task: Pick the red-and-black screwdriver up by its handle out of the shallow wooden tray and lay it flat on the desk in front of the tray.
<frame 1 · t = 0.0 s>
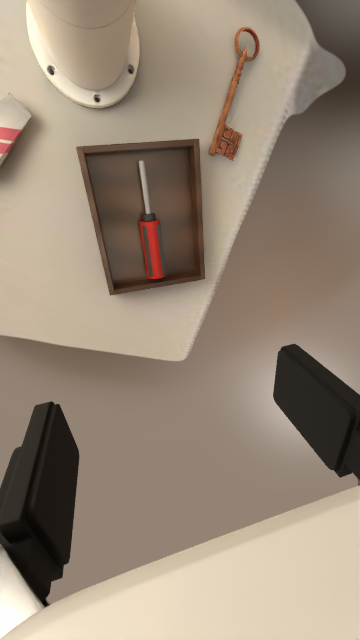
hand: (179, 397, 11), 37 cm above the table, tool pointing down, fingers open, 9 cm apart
screwdriver: (151, 247, 44), resting on wooden tray
wooden tray: (147, 221, 42), on the table
key: (233, 101, 38), on the table
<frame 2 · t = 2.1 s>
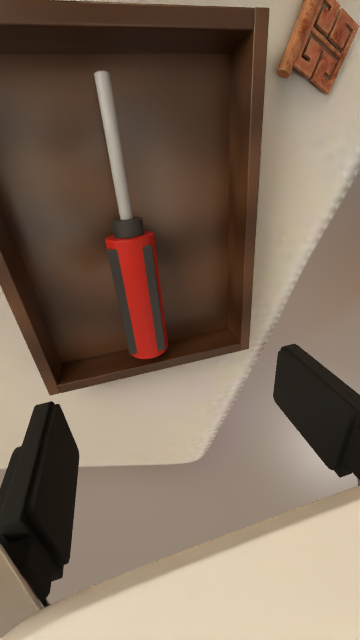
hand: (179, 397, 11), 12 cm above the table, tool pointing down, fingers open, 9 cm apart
screwdriver: (140, 289, 21), resting on wooden tray, tilted 9°
wooden tray: (131, 234, 19), on the table
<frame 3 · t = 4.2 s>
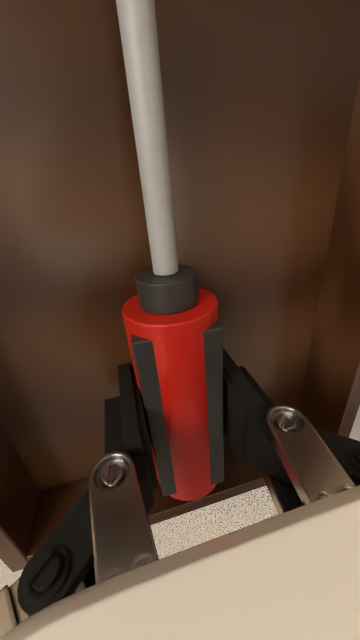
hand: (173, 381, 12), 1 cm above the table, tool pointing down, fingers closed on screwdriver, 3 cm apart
screwdriver: (174, 375, 12), resting on wooden tray, touching gripper
wooden tray: (159, 289, 10), on the table
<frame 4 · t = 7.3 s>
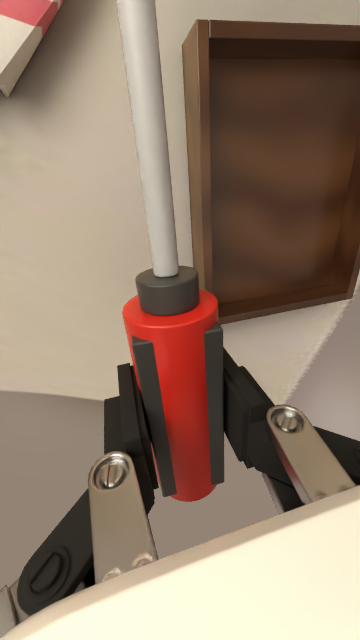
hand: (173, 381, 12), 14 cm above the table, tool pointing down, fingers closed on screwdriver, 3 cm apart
screwdriver: (174, 376, 12), point 14 cm above the table, touching gripper
wooden tray: (275, 199, 24), on the table
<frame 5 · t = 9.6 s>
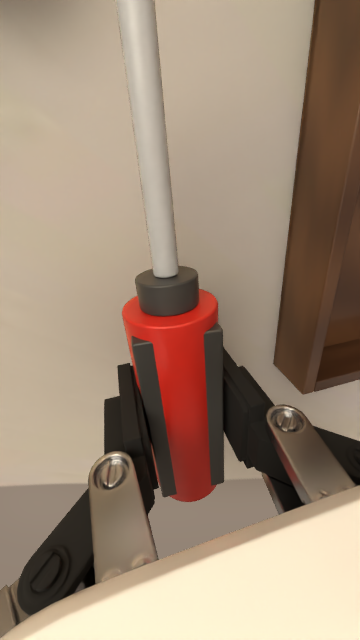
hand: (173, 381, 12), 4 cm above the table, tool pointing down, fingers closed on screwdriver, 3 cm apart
screwdriver: (174, 376, 12), point 3 cm above the table, touching gripper
when the fingers open (0 cm above the table, at t = 10.8 s): screwdriver stays where it is, on the table.
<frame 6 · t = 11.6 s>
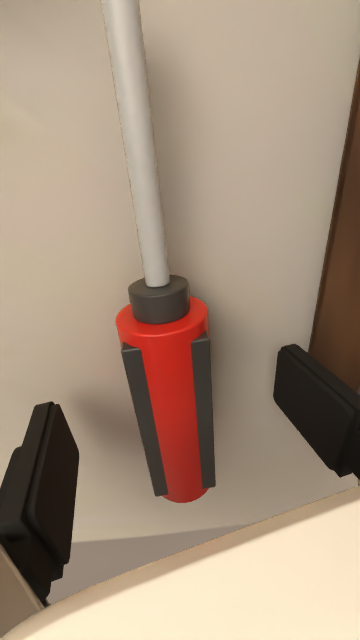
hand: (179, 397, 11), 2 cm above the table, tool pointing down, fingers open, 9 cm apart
screwdriver: (171, 380, 12), on the table, tilted 9°
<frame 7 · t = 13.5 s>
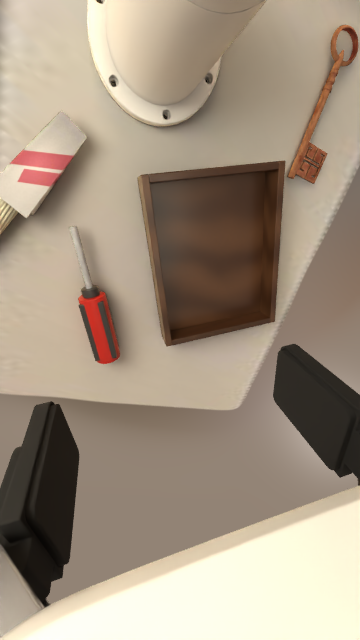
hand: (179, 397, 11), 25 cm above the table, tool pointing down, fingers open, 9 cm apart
screwdriver: (102, 322, 35), on the table, tilted 9°
paintbrush: (14, 204, 27), on the table
wooden tray: (211, 257, 35), on the table
key: (320, 114, 31), on the table
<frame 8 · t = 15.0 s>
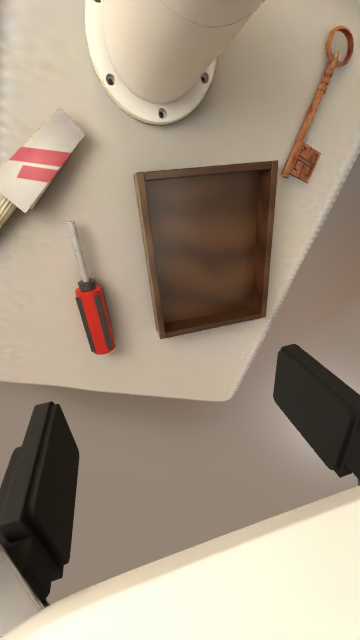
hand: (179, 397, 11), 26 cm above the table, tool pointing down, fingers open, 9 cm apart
screwdriver: (98, 314, 36), on the table, tilted 9°
paintbrush: (14, 198, 28), on the table
wooden tray: (205, 253, 36), on the table
key: (315, 114, 32), on the table
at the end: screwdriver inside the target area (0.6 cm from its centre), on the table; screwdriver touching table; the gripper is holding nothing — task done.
